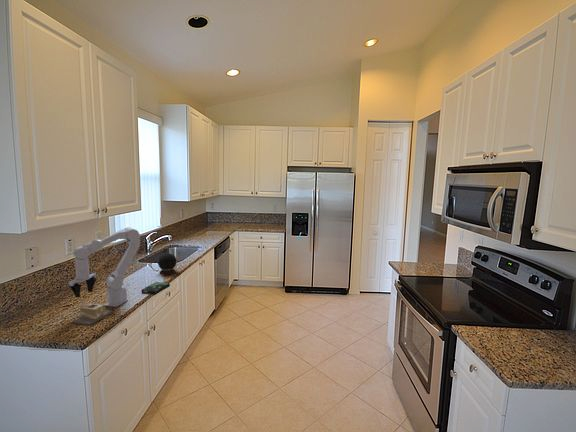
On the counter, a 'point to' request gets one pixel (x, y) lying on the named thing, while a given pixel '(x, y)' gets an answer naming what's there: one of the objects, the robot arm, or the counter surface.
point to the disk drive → (155, 288)
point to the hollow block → (92, 311)
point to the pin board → (90, 321)
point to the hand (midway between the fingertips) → (84, 294)
